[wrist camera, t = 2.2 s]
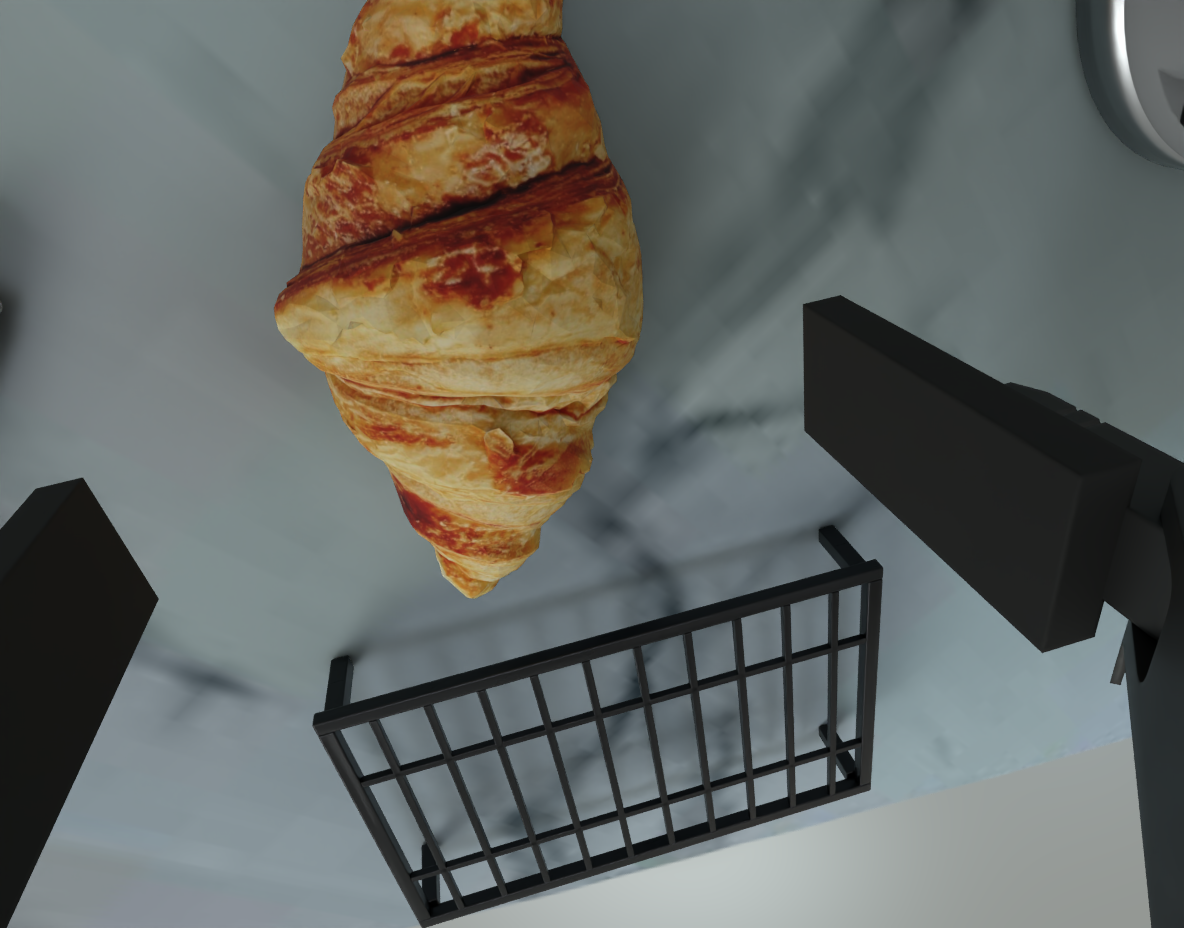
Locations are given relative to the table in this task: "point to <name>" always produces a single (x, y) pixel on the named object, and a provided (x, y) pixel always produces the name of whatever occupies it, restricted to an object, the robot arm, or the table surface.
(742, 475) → the table surface
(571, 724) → the cooling rack
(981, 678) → the table surface
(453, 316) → the croissant
